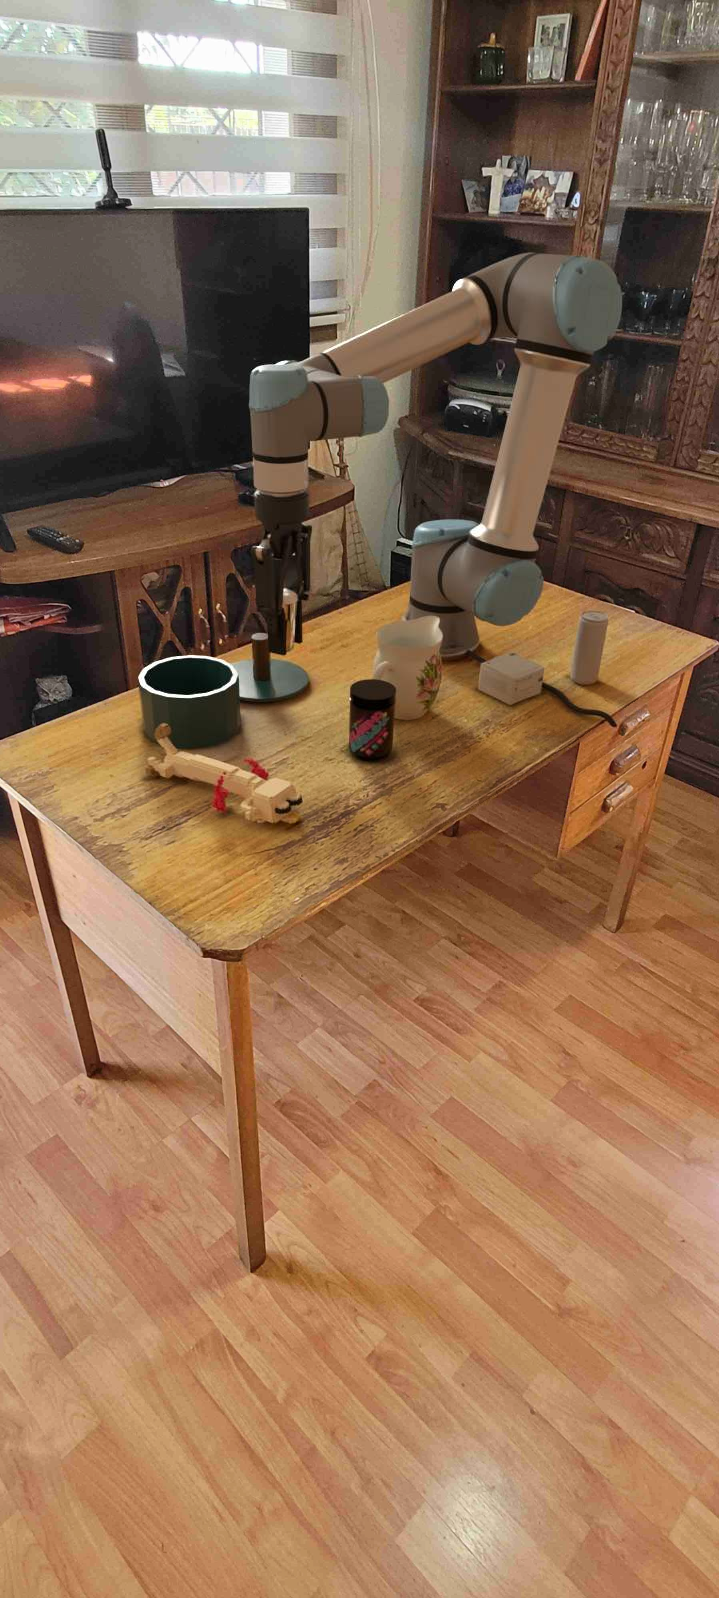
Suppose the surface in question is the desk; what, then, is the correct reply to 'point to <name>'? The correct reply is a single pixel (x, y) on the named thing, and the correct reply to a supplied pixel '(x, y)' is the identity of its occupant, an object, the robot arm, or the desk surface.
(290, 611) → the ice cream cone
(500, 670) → the small box
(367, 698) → the supplement container
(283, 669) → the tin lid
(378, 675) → the pitcher
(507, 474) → the robot arm
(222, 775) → the blocky axolotl figure
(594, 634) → the beverage can
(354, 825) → the desk surface
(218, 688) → the tin
